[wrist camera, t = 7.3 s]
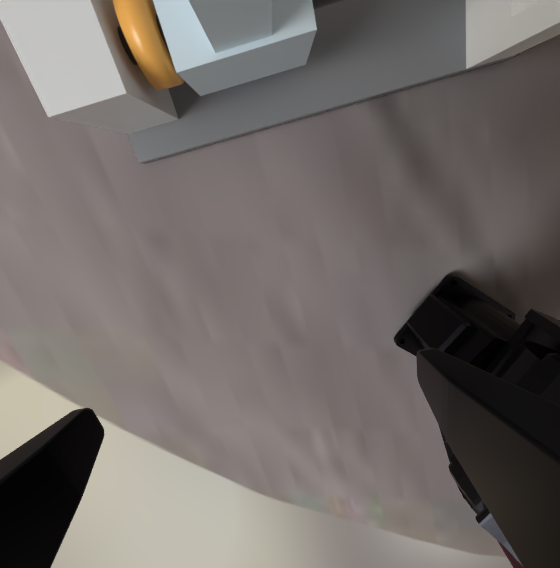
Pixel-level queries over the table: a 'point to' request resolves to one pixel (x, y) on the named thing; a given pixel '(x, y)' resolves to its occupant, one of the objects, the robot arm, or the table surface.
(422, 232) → the table surface
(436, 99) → the table surface
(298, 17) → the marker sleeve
